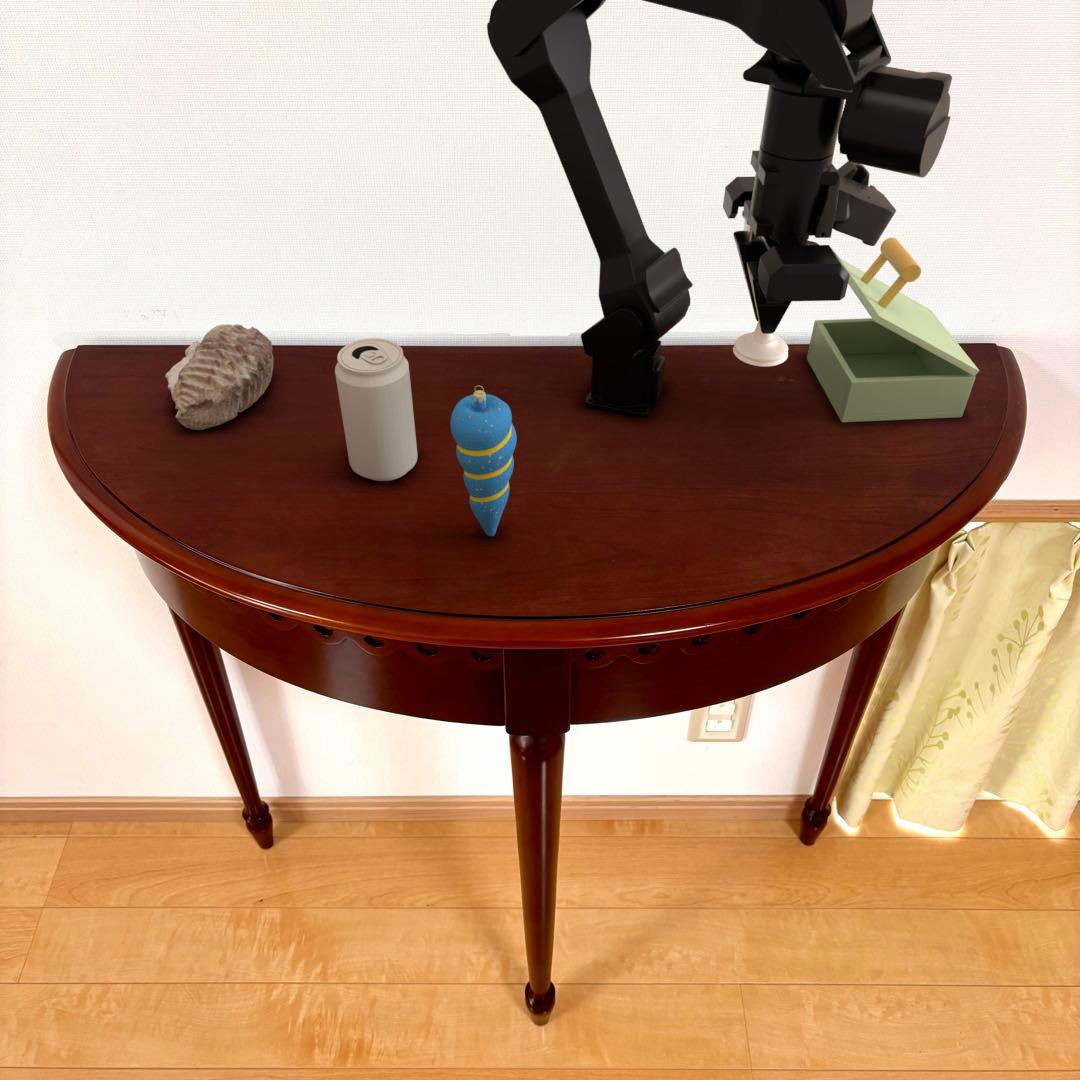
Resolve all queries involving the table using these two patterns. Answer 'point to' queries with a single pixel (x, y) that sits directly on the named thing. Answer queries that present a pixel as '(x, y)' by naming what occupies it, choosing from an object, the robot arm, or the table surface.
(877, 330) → the chest
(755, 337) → the chess piece
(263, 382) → the seashell
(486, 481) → the ornament
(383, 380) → the beverage can
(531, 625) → the table surface
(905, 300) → the chest lid
